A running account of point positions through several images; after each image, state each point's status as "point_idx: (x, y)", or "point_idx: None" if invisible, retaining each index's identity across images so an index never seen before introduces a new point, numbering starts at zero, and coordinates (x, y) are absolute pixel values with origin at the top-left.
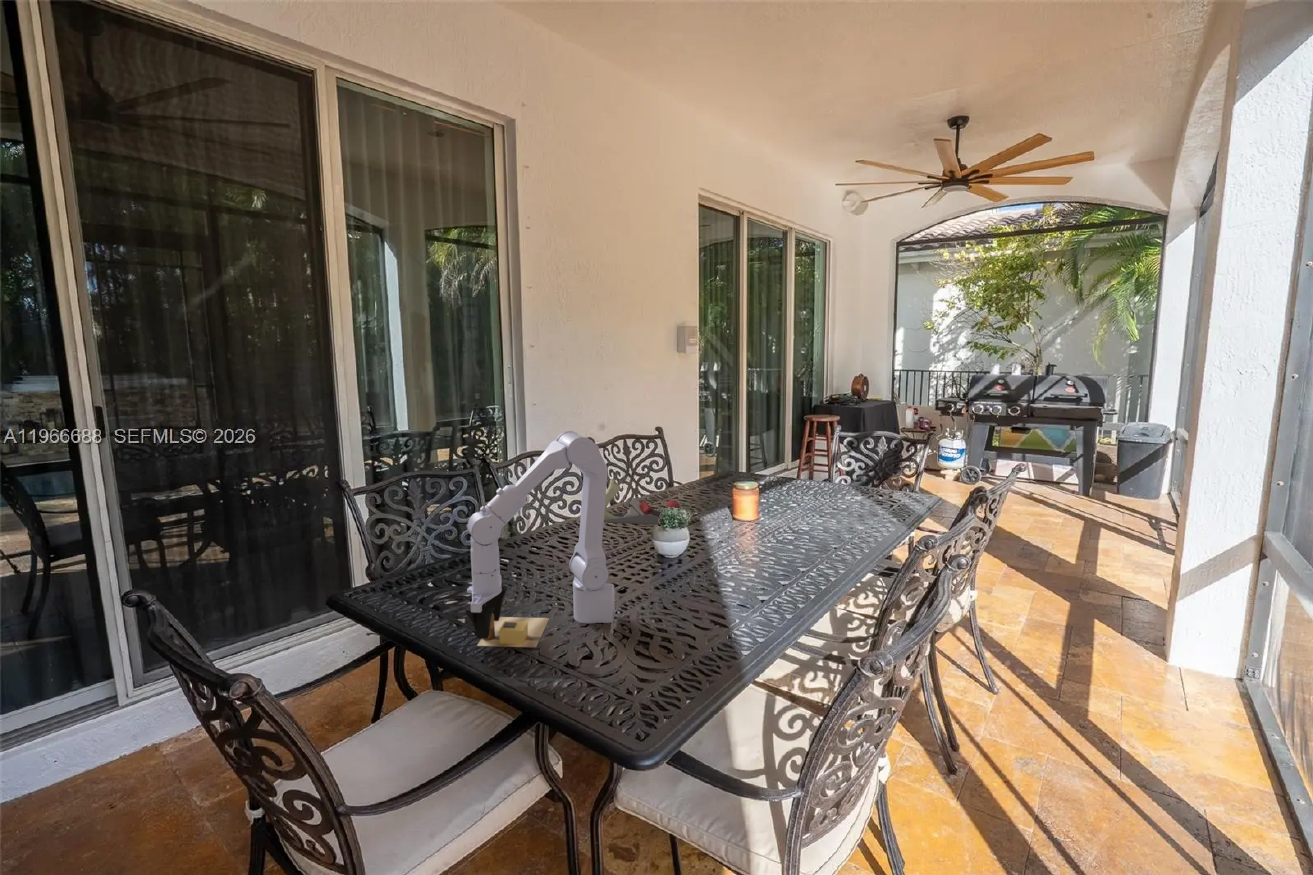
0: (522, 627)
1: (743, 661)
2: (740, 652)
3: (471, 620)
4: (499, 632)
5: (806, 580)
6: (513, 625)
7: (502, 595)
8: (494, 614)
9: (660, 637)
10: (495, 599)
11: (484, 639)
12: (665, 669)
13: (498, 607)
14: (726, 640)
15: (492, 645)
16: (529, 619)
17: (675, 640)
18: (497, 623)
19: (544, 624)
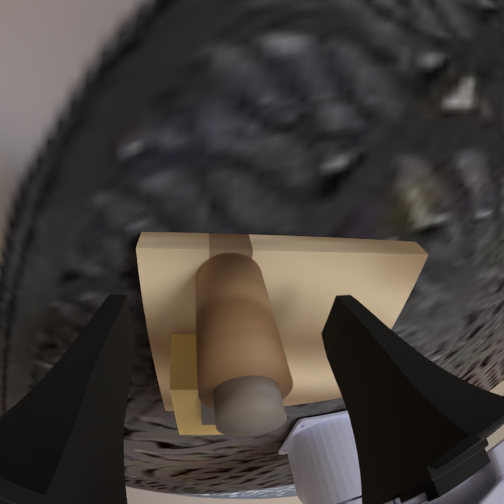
0: (206, 432)
1: (186, 494)
2: (205, 494)
3: (26, 398)
4: (170, 379)
5: None
6: (210, 422)
7: (363, 480)
8: (341, 351)
9: (241, 474)
10: (378, 439)
11: (198, 272)
12: (154, 477)
13: (350, 402)
14: (231, 490)
15: (149, 313)
16: None
17: (232, 479)
18: (369, 279)
19: (311, 399)
